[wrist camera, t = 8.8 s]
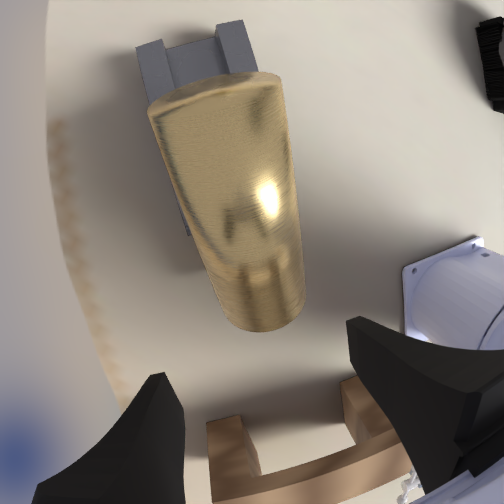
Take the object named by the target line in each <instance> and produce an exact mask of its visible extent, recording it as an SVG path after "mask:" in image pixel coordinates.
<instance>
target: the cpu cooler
mask: <svg viewBox="0 0 504 504" xmlns="http://www.w3.org/2000/svg"><path fill="white" fill-rule="evenodd" d="M479 24H480V27H477V28H476V30H477V31H478V32H477V34H476V35H477V36H478V37H477V39H478V42H479V43H478V44H479V45H480V46H479V47H480V52H481V58H482V61H483V62H482V64H484V66H483V67H484V68H483V70H485V71H484V73H485V74H484V76H485V77H484V78H486V79H485V81H486V82H485V83H488V84H487V85H486V87H487V90H489V91H486V92H488V93H489V94H487V95H488V96H489V97H487V98H490V99H489V100H491V101H493V107H494V111H497V112H500V113H503V114H504V18H502V17H501V16H500V17H496V18H493V19H489V20H486V21H483V22H479Z"/></svg>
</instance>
